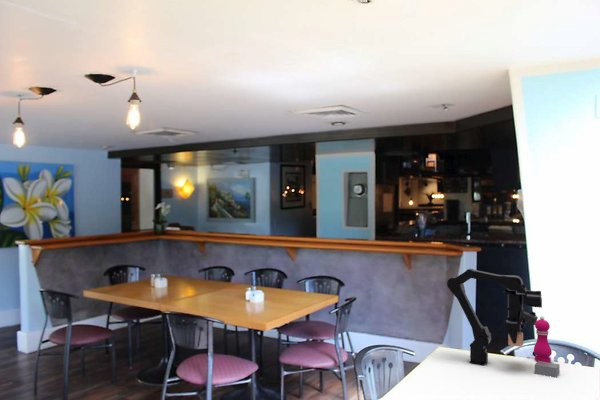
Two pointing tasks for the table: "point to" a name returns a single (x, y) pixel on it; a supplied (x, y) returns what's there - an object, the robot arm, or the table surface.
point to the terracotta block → (519, 340)
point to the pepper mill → (542, 341)
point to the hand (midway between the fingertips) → (515, 342)
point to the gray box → (547, 369)
